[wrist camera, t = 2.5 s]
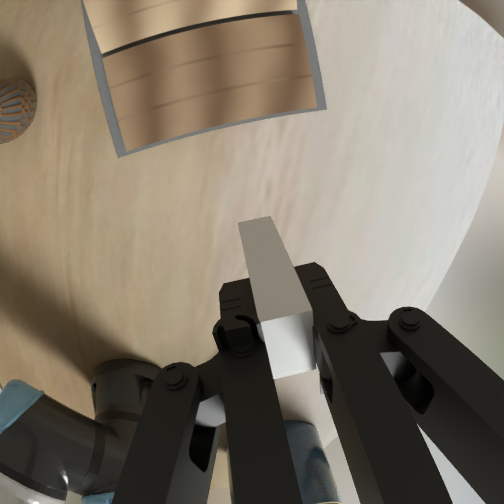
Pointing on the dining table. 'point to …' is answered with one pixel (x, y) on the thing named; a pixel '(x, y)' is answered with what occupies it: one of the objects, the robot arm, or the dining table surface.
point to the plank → (164, 16)
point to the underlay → (98, 56)
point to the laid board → (210, 78)
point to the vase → (15, 108)
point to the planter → (306, 465)
